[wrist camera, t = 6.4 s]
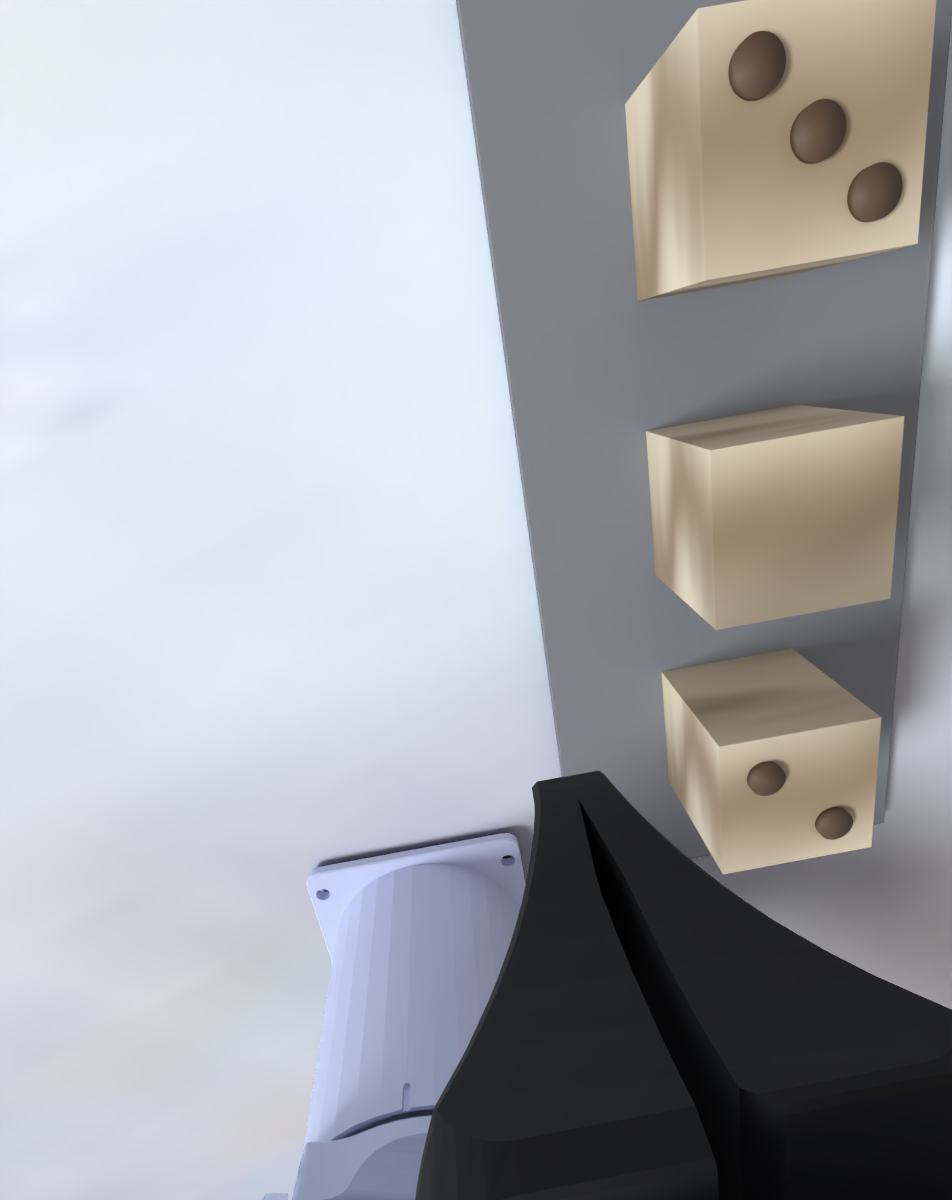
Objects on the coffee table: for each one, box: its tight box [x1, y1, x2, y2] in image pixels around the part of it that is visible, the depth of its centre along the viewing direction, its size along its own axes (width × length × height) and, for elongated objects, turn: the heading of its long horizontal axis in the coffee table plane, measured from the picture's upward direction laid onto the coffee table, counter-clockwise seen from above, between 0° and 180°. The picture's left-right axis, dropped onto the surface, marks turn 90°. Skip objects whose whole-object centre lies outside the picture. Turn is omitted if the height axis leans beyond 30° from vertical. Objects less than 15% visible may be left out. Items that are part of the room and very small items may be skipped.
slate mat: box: [456, 0, 952, 859], centre depth 20 cm, size 28×12×1 cm, turn 9°
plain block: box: [646, 405, 904, 630], centre depth 17 cm, size 4×4×4 cm
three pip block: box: [625, 0, 936, 301], centre depth 14 cm, size 4×4×5 cm
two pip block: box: [662, 648, 881, 874], centre depth 20 cm, size 4×4×5 cm
